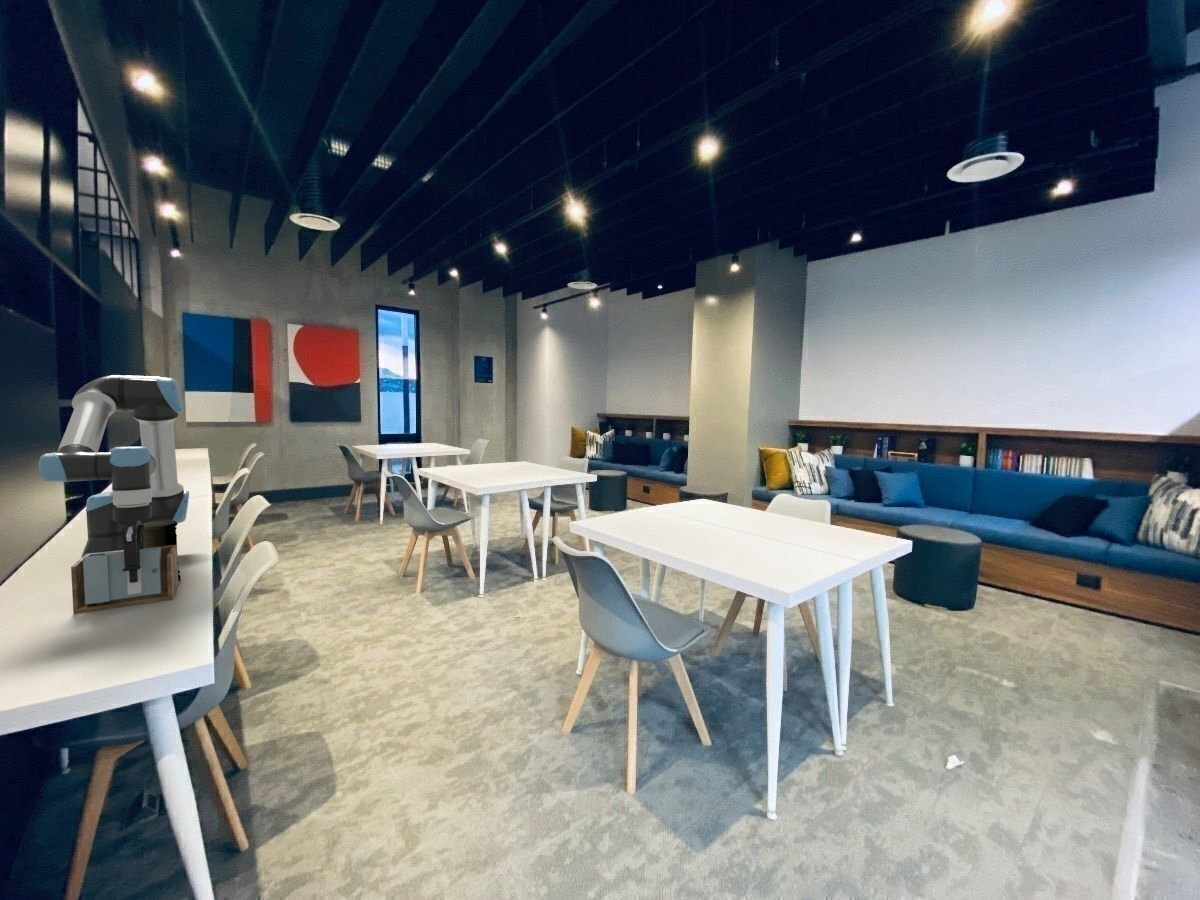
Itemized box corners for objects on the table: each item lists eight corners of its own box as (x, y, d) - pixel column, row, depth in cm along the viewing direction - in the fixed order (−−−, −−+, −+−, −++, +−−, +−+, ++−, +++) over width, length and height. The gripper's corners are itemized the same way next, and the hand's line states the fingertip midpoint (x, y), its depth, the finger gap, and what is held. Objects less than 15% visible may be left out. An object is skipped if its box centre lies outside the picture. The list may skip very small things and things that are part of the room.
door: (89, 599, 130) (87, 554, 129) (162, 589, 138) (161, 546, 138) (85, 604, 126) (82, 558, 126) (160, 594, 135) (158, 550, 134)
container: (135, 583, 148) (132, 524, 147) (172, 575, 156) (170, 518, 155) (149, 589, 144) (146, 527, 143) (186, 580, 152) (184, 522, 150)
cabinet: (88, 596, 137) (86, 553, 136) (178, 584, 148) (177, 544, 147) (73, 613, 126) (71, 567, 125) (172, 599, 136) (170, 556, 136)
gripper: (119, 501, 136) (123, 585, 138) (105, 511, 123) (109, 603, 125) (156, 499, 141) (159, 580, 142) (146, 508, 128) (149, 598, 129)
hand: (136, 591), depth 134 cm, fingers closed on door, 3 cm apart
